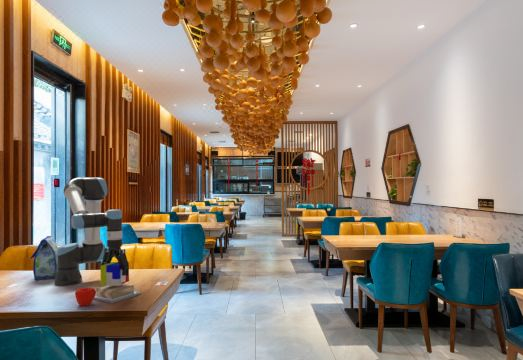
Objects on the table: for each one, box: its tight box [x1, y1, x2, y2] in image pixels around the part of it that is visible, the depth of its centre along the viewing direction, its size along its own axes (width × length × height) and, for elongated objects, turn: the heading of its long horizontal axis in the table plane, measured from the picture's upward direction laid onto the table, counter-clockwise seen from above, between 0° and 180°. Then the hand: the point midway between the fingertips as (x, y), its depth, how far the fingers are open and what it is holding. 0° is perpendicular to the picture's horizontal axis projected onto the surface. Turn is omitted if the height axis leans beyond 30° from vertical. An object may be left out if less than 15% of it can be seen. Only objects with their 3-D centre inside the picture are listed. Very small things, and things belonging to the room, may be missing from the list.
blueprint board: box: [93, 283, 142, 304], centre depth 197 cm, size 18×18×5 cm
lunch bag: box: [30, 235, 59, 281], centre depth 250 cm, size 22×17×26 cm
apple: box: [74, 287, 97, 307], centre depth 183 cm, size 9×9×8 cm
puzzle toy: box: [99, 261, 130, 286], centre depth 197 cm, size 10×10×10 cm
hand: (115, 280), depth 197 cm, fingers closed on puzzle toy, 12 cm apart
